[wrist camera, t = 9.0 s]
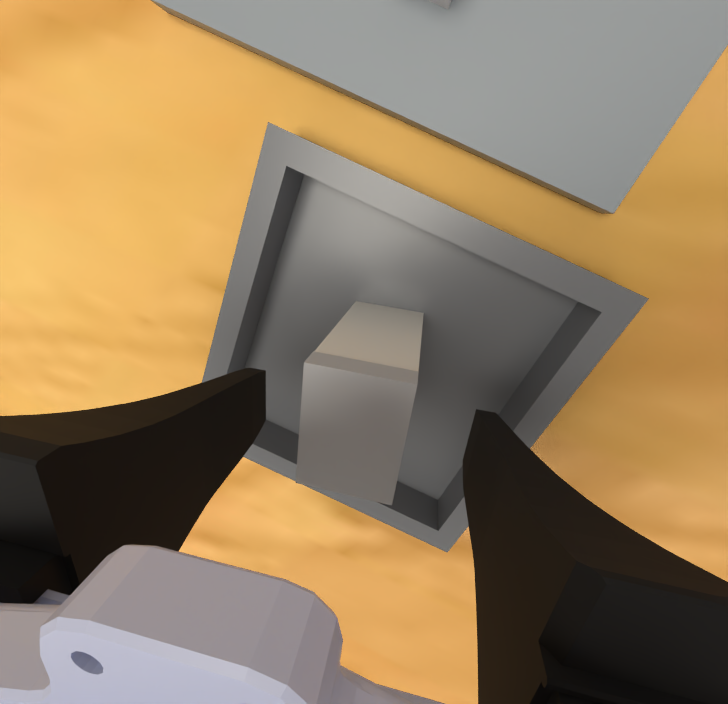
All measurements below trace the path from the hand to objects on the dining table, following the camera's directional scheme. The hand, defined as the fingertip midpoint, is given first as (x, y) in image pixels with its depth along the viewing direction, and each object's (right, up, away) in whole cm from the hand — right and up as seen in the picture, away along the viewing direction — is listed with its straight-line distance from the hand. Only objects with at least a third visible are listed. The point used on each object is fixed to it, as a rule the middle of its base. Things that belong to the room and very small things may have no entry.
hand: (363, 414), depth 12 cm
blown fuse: (+1, +2, +4) cm, 5 cm away
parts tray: (+1, +2, +5) cm, 5 cm away
